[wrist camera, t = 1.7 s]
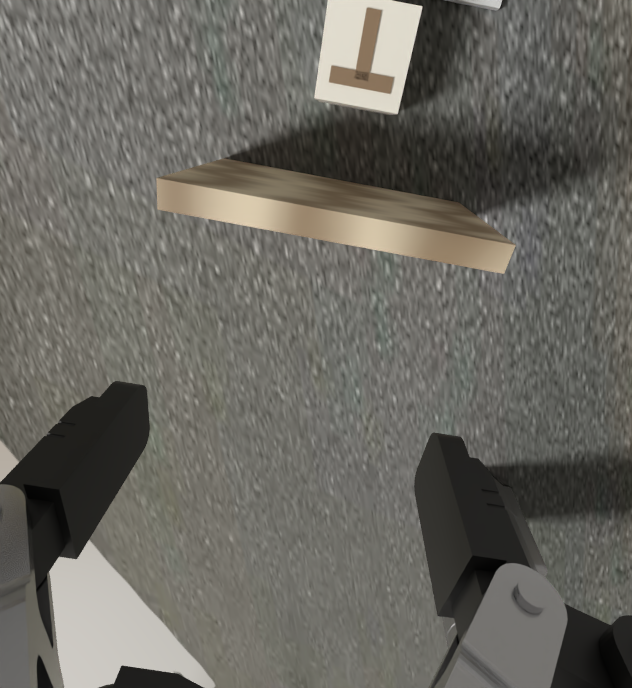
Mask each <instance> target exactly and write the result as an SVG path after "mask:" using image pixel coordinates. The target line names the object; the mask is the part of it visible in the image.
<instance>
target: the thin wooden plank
mask: <svg viewBox="0 0 632 688" xmlns="http://www.w3.org/2000/svg"><path fill="white" fill-rule="evenodd" d="M157 205H158V210H164V211H169V212H174V213H180V214H185V215H191V216H196V217H201V218H207V219H212V220H217V221H223V222H228V223H234V224H239V225H244V226H250V227H255V228H260V229H266V230H271V231H277V232H282V233H287V234H293V235H298V236H304V237H309V238H314V239H320V240H325V241H330V242H336V243H341V244H347V245H352V246H357V247H363V248H368V249H374V250H379V251H384V252H390V253H395V254H400V255H406V256H411V257H417V258H422V259H427V260H433V261H438V262H443V263H449V264H454V265H460V266H465V267H470V268H476V269H481V270H487V271H492V272H497V273H503V274H504V272H505V270H506V267H507V265H508V263H509V260H510V258H511V255H512V253H513V251H514V248H515V246H516V245H515V244H513V243H512V242H511V241H509V240H508V239H507V238H505V237H504V236H503V235H501V234H500V233H499V232H497V231H496V230H495V229H493V228H492V227H491V226H489V225H488V224H487V223H485V222H484V221H483V220H481V219H480V218H479V217H477V216H476V215H475V214H473V213H472V212H471V211H469V210H468V209H467V208H465V207H464V206H463V205H461V204H460V203H459V202H454V201H448V200H443V199H438V198H432V197H427V196H422V195H416V194H411V193H406V192H401V191H395V190H390V189H385V188H379V187H374V186H369V185H363V184H358V183H353V182H347V181H342V180H337V179H331V178H326V177H321V176H315V175H310V174H305V173H300V172H294V171H289V170H284V169H278V168H273V167H268V166H262V165H257V164H252V163H246V162H241V161H236V160H230V159H225V158H224V159H220V160H217V161H213V162H210V163H207V164H203V165H200V166H196V167H193V168H189V169H186V170H183V171H179V172H176V173H172V174H169V175H165V176H162V177H159V178H157Z"/></svg>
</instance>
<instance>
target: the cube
mask: <svg viewBox="0 0 632 688" xmlns="http://www.w3.org/2000/svg"><path fill="white" fill-rule="evenodd" d="M422 7H423V6H418V5H413V4H408V3H403V2H398V1H393V0H328V4H327V11H326V18H325V26H324V33H323V40H322V47H321V54H320V62H319V69H318V76H317V83H316V91H315V99H317V100H318V101H320V102H324V103H330V104H335V105H340V106H345V107H351V108H356V109H361V110H366V111H372V112H377V113H382V114H387V115H394V114H398V111H399V106H400V102H401V98H402V93H403V89H404V85H405V80H406V76H407V72H408V67H409V63H410V59H411V54H412V50H413V46H414V41H415V37H416V33H417V28H418V24H419V20H420V15H421V11H422Z"/></svg>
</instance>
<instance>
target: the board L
mask: <svg viewBox="0 0 632 688" xmlns="http://www.w3.org/2000/svg"><path fill="white" fill-rule="evenodd" d="M444 1H450V2H455V3H460V4H465V5H470V6H475V7H480V8H485V9H490V10H496V11H497V10H498V9H499V8H500V6H501V2H502V0H444Z"/></svg>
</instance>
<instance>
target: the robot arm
mask: <svg viewBox="0 0 632 688" xmlns="http://www.w3.org/2000/svg"><path fill="white" fill-rule="evenodd" d="M149 430H150V425H149V412H148V399H147V390H146V387H145V386H144V385H139V384H132V383H126V382H120V381H115V382H113V383H112V384H111V385H110V386H109V387H108V388H107V390H106V391H105V392H104V393H103V394H102V395H101V396H100V398H99V397H93V396H91V397H89V398H87V399H86V400H84V401H82V402H80V403H79V404H77V405H75V406H73V407H72V408H71V409H70V410H69V411H68V412H67V413H66V414H65V415H64V416H63V417H62V418H61V419H60V420H59V423H58V424H56V425H55V426H54V427H53V428H52V429H51V430H50V431H49V432H48V433H47V436H44V437H43V438H42V439H41V440H40V441H39V442H38V443H37V445H36V446H35V447H34V448H33V449H32V450H31V451H30V452H29V453H28V454H27V455H26V456H25V457H24V458H23V459H22V460H21V461H20V462H19V463H18V465H16V467H15V468H14V469H13V470H12V471H11V472H10V473H9V474H8V475H7V476H6V477H5V478H4V479H3V480H2V481H1V482H0V688H64V684H63V678H62V673H61V669H60V664H59V658H58V650H57V640H56V631H55V621H54V611H53V601H52V592H51V582H50V575H49V571H50V569H51V568H52V566H53V565H54V563H55V561H56V560H57V558H58V557H66V558H72V559H77V558H78V556H79V555H80V553H81V552H82V550H83V548H84V546H85V545H86V543H87V541H88V540H89V538H90V537H91V535H92V534H93V532H94V530H95V529H96V527H97V525H98V524H99V522H100V520H101V519H102V517H103V516H104V514H105V512H106V511H107V509H108V507H109V506H110V504H111V502H112V501H113V499H114V498H115V496H116V494H117V493H118V491H119V489H120V488H121V486H122V485H123V483H124V481H125V480H126V478H127V476H128V475H129V473H130V471H131V470H132V468H133V467H134V465H135V463H136V462H137V460H138V458H139V457H140V455H141V453H142V452H143V450H144V448H145V446H146V444H147V441H148V437H149ZM414 488H415V497H416V502H417V507H418V513H419V518H420V524H421V529H422V534H423V540H424V545H425V551H426V556H427V561H428V567H429V572H430V578H431V583H432V588H433V594H434V599H435V604H436V610H437V615H438V616H442V619H443V625H444V630H445V636H446V641H447V646H448V650H447V652H446V654H445V656H444V658H443V660H442V662H441V664H440V666H439V668H438V670H437V672H436V674H435V676H434V678H433V680H432V682H431V684H430V686H429V688H632V616H629V615H628V616H622V617H619V618H618V619H617V620H616V621H615V622H614V623H613V624H612V625H609V624H606V623H604V622H602V621H600V620H598V619H596V618H594V617H591V616H589V615H587V614H585V613H583V612H581V611H578V610H576V609H574V608H572V607H570V606H568V605H566V604H565V603H564V602H563V600H562V598H561V596H560V595H559V593H558V592H557V590H556V589H555V588H554V587H553V585H552V584H551V583H550V582H549V581H548V580H547V579H546V578H545V576H546V575H547V568H546V565H545V563H544V561H543V559H542V556H541V554H540V552H539V549H538V547H537V545H536V543H535V540H534V538H533V536H532V534H531V531H530V529H529V527H528V524H527V522H526V520H525V518H524V515H523V513H522V511H521V508H520V506H519V504H518V502H517V499H516V497H515V495H514V493H513V490H512V488H511V487H507V486H503V485H502V484H500V483H499V482H498V481H497V480H496V479H495V478H494V477H493V476H492V474H491V473H490V472H489V471H488V469H487V468H486V467H485V466H484V465H483V463H482V462H481V461H480V460H479V459H477V458H470V457H469V454H468V452H467V449H466V446H465V444H464V441H463V439H462V438H461V437H458V436H452V435H446V434H439V433H432V434H431V436H430V438H429V440H428V443H427V445H426V448H425V450H424V453H423V456H422V458H421V461H420V463H419V466H418V468H417V471H416V475H415V485H414ZM99 688H203V687H201V686H200V685H198V684H196V683H194V682H192V681H190V680H188V679H186V678H184V677H182V676H181V675H179V674H175V673H169V672H162V671H155V670H148V669H141V668H135V667H128V666H121V668H120V671H119V673H118V676H117V678H116V680H115V683H114V684H110V685H105V686H102V687H99Z"/></svg>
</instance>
